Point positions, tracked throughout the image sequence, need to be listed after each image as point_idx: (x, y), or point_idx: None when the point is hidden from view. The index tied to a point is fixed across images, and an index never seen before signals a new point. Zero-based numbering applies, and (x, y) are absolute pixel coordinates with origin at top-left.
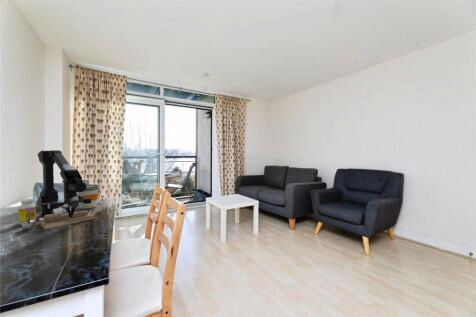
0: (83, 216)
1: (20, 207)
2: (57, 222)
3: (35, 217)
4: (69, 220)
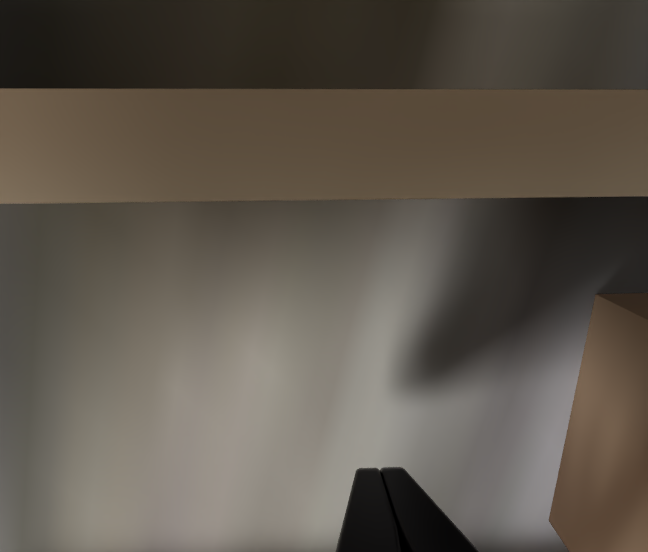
0: (3, 146)
1: None
2: None
3: None
4: (557, 97)
